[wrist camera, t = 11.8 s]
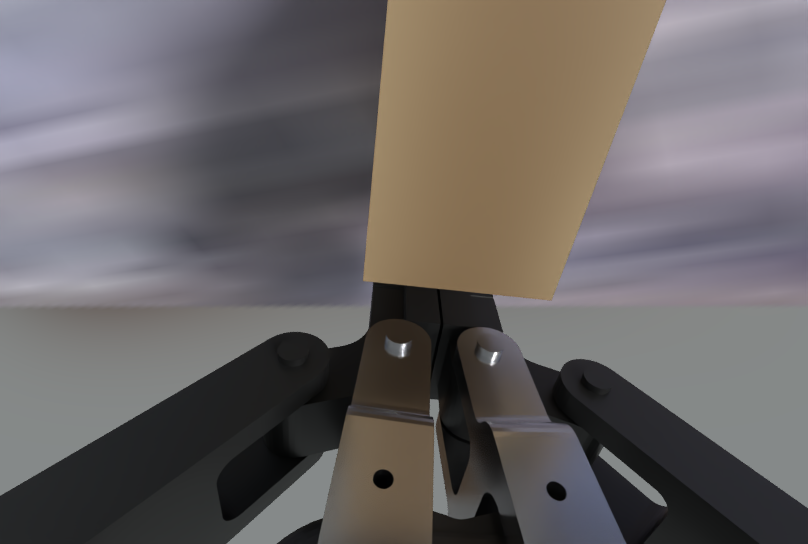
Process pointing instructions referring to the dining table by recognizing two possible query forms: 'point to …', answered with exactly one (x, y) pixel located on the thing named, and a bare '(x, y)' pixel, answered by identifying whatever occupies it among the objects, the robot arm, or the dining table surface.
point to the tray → (495, 136)
